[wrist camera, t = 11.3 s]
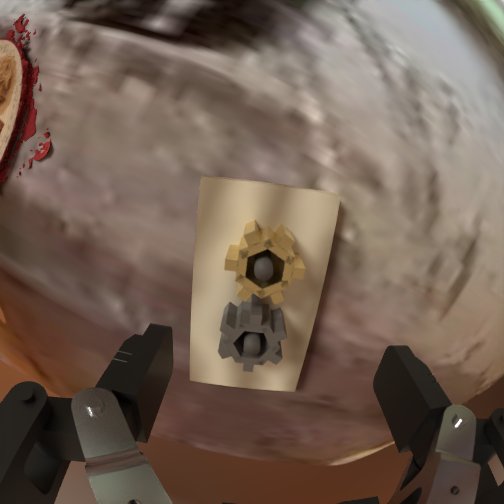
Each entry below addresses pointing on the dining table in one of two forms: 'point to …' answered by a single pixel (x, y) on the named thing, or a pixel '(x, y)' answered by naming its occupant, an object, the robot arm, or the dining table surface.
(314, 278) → the gear board
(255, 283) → the brass gear
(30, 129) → the plate with food
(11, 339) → the dining table surface
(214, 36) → the dining table surface
